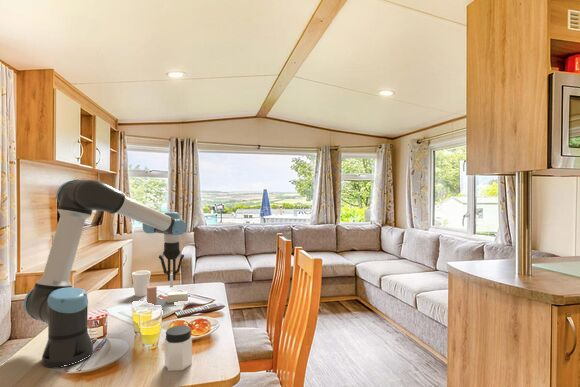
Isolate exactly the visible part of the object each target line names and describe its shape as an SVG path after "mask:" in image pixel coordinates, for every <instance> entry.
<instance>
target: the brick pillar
mask: <svg viewBox="0 0 580 387" xmlns="http://www.w3.org/2000/svg"><path fill="white" fill-rule="evenodd" d="M157 291H158V290H157V286H156V285H155V284H154V285H149V286H147V295H146V300H147V302H148V303H152V304H154V305H157V298H158V296H157Z"/></svg>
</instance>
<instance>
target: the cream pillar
mask: <svg viewBox="0 0 580 387" xmlns="http://www.w3.org/2000/svg"><path fill="white" fill-rule="evenodd" d="M188 295H189V293H188V291H175V292H168V293H167V295H166V297H167V303H172V302H178V301H188Z"/></svg>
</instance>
